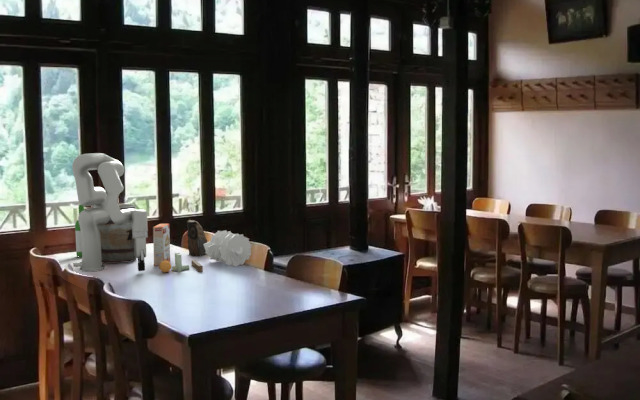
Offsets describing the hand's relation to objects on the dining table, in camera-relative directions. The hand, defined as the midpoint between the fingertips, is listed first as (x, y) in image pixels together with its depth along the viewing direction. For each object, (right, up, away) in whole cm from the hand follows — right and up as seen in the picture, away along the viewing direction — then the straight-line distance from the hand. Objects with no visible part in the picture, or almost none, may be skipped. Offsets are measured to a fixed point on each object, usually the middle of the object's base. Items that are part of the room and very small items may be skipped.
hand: (141, 270), depth 346 cm
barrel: (-23, +2, +33) cm, 40 cm away
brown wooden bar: (+26, 0, +11) cm, 28 cm away
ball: (+11, +2, +2) cm, 12 cm away
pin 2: (+18, -1, +5) cm, 19 cm away
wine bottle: (-46, +3, +48) cm, 67 cm away
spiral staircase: (+41, +1, +22) cm, 46 cm away
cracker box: (+5, +1, +26) cm, 26 cm away
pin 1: (+16, 0, +9) cm, 19 cm away
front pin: (+14, 0, +6) cm, 15 cm away
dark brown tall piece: (+20, +4, +51) cm, 55 cm away
